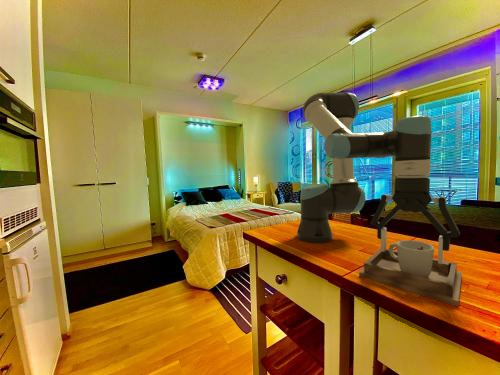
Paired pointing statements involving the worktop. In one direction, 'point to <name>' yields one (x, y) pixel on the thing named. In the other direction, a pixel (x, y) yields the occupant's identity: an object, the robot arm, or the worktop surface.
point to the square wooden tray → (415, 277)
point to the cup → (413, 257)
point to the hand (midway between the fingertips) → (409, 255)
